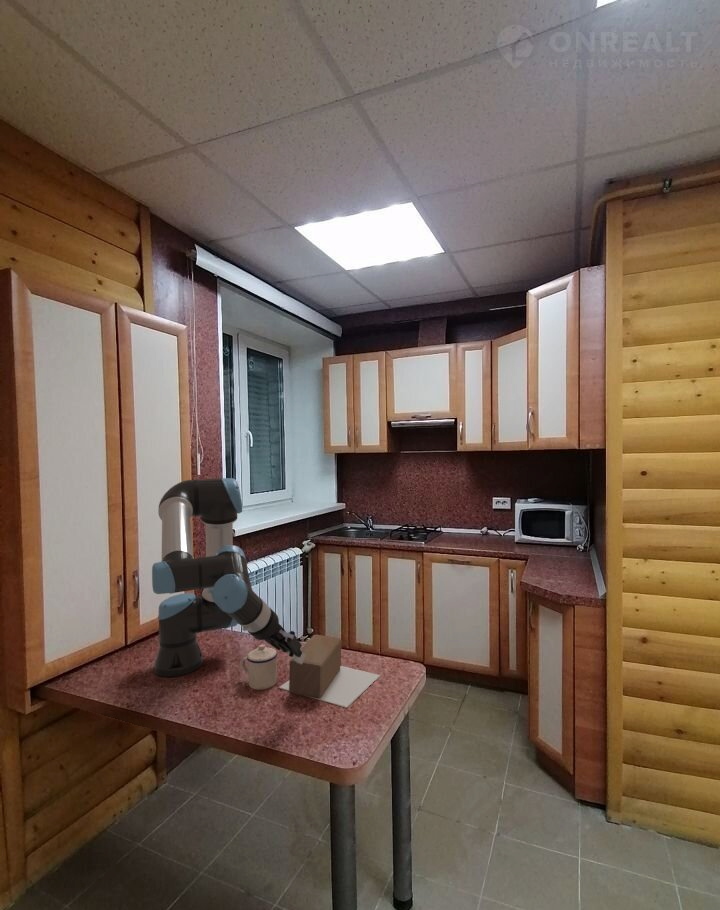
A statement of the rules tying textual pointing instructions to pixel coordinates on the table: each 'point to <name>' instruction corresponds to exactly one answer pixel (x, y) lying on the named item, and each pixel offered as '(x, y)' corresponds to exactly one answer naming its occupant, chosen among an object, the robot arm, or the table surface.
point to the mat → (344, 686)
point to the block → (315, 666)
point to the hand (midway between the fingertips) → (301, 658)
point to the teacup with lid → (261, 667)
